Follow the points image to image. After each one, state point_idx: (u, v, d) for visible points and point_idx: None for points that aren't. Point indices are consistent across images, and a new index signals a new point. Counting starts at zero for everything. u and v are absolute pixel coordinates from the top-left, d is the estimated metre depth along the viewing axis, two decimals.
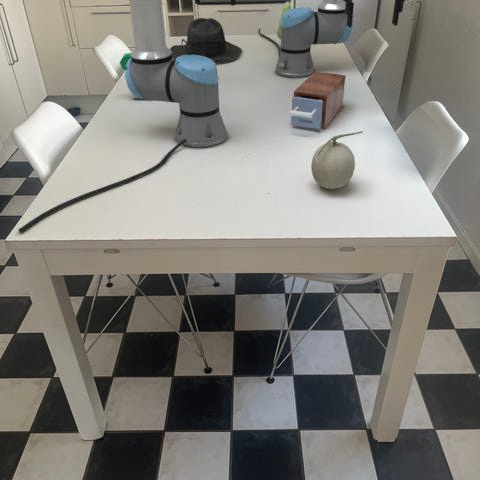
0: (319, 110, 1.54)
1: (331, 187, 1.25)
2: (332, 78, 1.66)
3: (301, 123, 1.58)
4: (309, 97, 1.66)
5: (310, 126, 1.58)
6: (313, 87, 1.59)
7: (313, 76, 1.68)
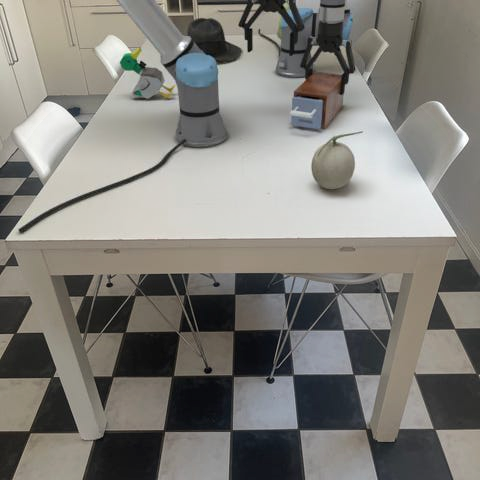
0: (319, 110, 1.54)
1: (331, 187, 1.25)
2: (332, 78, 1.66)
3: (301, 123, 1.58)
4: (309, 97, 1.66)
5: (310, 126, 1.58)
6: (313, 87, 1.59)
7: (313, 76, 1.68)
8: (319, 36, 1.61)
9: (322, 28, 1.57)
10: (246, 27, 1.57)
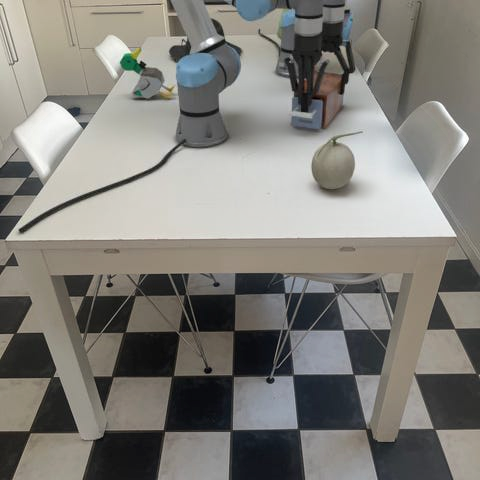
0: (319, 110, 1.54)
1: (331, 187, 1.25)
2: (332, 78, 1.66)
3: (301, 124, 1.58)
4: None
5: (310, 126, 1.58)
6: (313, 87, 1.59)
7: None
8: None
9: (322, 27, 1.57)
10: (300, 92, 1.49)
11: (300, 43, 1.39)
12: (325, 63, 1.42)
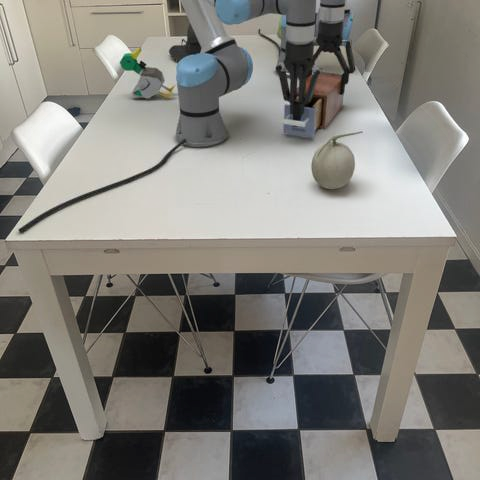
0: (312, 118, 1.49)
1: (331, 187, 1.25)
2: (332, 78, 1.66)
3: (294, 132, 1.54)
4: None
5: (303, 135, 1.53)
6: None
7: None
8: (319, 36, 1.61)
9: (322, 27, 1.57)
10: (292, 101, 1.44)
11: (291, 51, 1.34)
12: (317, 72, 1.37)
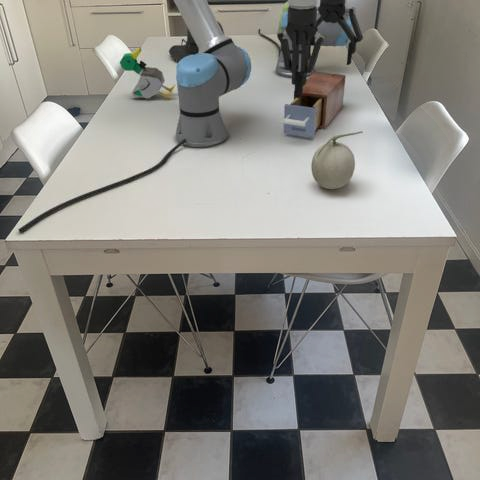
0: (312, 118, 1.49)
1: (331, 187, 1.25)
2: (332, 78, 1.66)
3: (294, 132, 1.54)
4: (302, 104, 1.61)
5: (303, 134, 1.53)
6: (313, 87, 1.59)
7: (313, 76, 1.68)
8: (321, 5, 1.56)
9: None
10: (294, 70, 1.40)
11: (294, 16, 1.30)
12: (320, 39, 1.33)
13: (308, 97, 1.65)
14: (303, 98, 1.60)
